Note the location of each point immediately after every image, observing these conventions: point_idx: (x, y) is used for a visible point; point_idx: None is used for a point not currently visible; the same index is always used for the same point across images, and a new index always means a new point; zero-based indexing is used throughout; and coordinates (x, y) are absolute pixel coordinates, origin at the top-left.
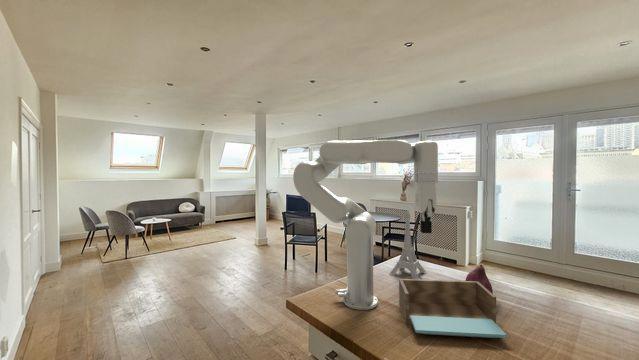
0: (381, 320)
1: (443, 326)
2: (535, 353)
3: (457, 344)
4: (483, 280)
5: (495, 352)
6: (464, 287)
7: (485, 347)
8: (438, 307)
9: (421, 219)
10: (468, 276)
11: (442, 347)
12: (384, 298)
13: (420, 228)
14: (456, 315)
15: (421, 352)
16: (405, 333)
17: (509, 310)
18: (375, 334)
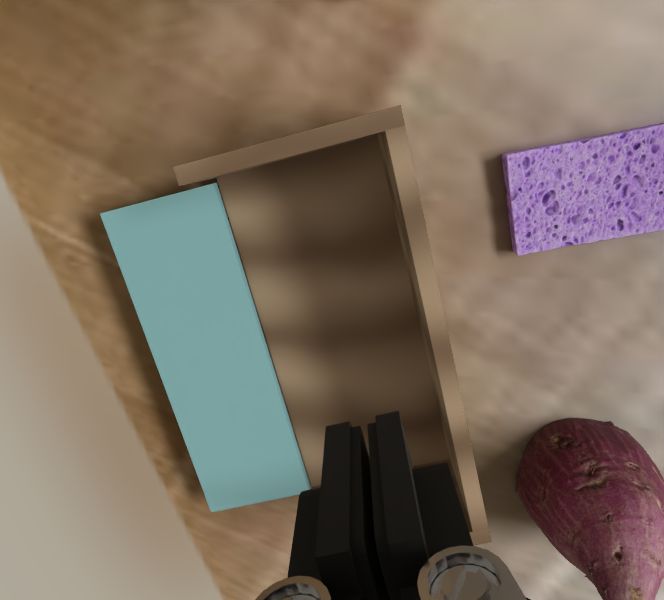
0: (198, 45)
1: (177, 320)
2: (202, 550)
3: (149, 350)
4: (575, 560)
5: (156, 452)
6: (455, 462)
7: (172, 430)
8: (377, 307)
9: (416, 577)
10: (617, 504)
11: (107, 301)
12: (446, 22)
13: (403, 434)
14: (326, 373)
15: (42, 230)
16: (137, 166)
17: None
18: (71, 37)
